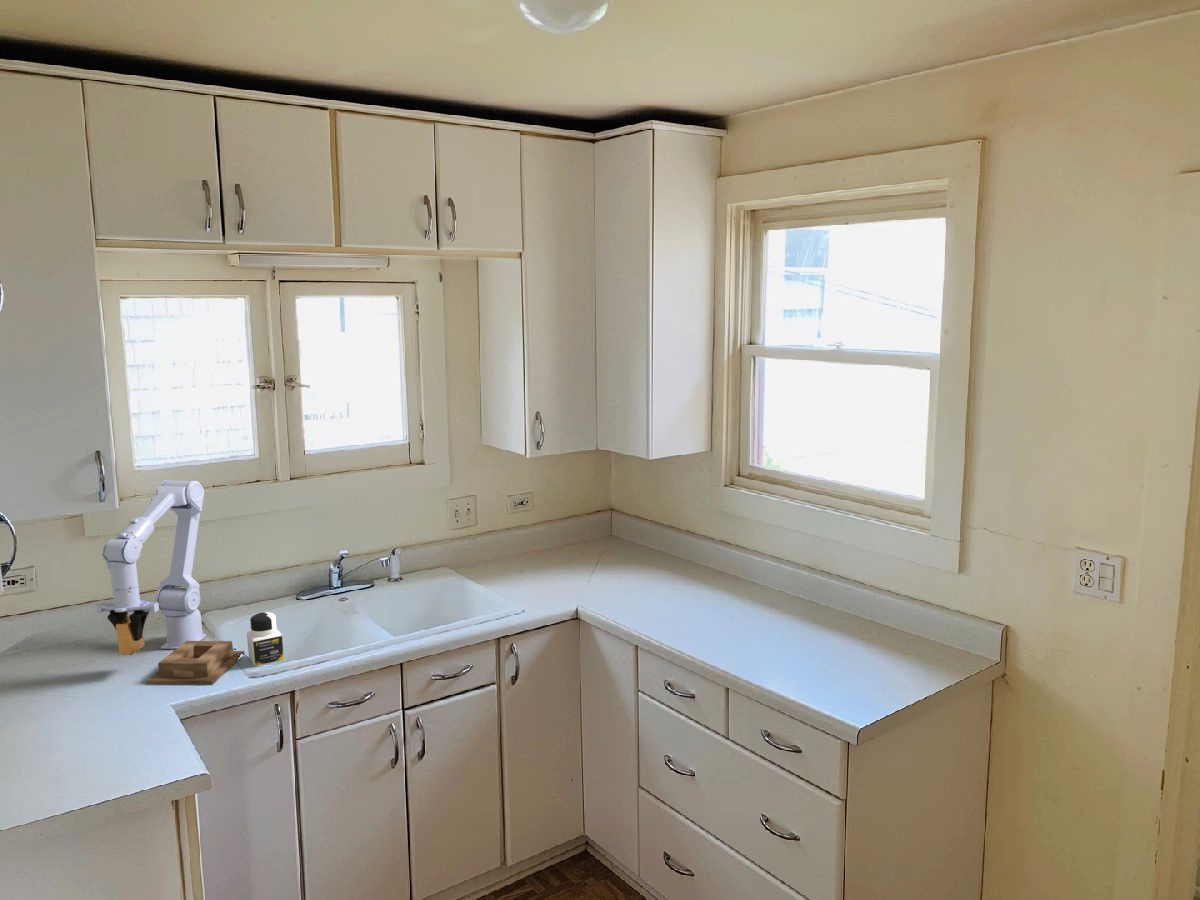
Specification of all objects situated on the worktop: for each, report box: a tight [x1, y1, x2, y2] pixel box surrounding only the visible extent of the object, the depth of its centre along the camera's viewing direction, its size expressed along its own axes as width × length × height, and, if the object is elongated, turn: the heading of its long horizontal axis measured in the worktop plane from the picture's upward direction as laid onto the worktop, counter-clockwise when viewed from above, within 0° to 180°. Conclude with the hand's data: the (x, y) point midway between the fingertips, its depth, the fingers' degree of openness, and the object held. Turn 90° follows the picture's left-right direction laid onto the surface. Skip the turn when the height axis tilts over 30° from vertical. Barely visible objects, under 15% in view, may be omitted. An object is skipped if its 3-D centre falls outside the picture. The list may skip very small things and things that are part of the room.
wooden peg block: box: [115, 614, 146, 656], centre depth 225 cm, size 6×3×8 cm, turn 178°
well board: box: [146, 640, 246, 686], centre depth 227 cm, size 18×16×4 cm
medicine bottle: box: [246, 611, 285, 668], centre depth 232 cm, size 7×7×12 cm
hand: (131, 639), depth 225 cm, fingers closed on wooden peg block, 3 cm apart
